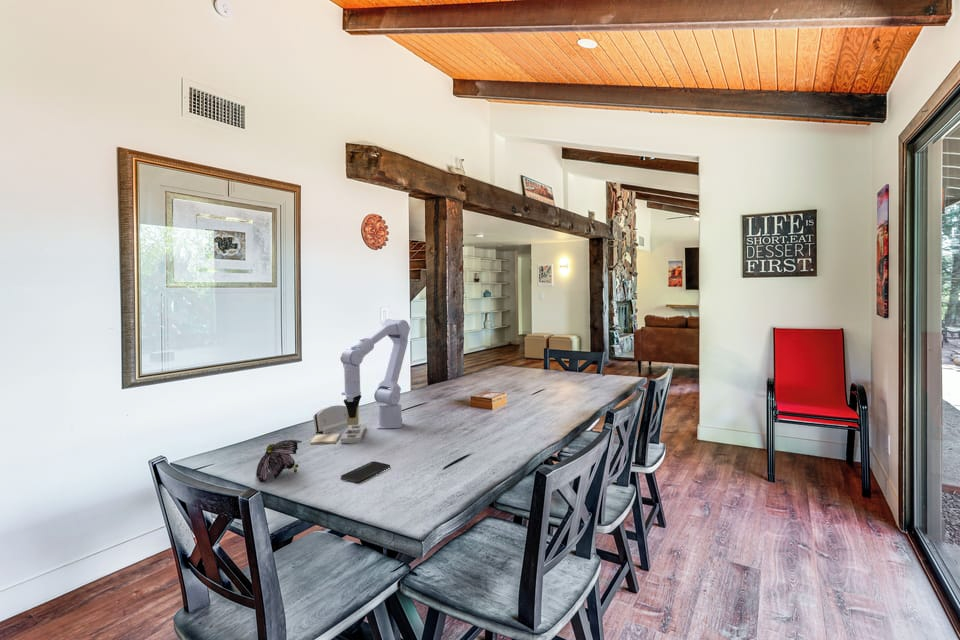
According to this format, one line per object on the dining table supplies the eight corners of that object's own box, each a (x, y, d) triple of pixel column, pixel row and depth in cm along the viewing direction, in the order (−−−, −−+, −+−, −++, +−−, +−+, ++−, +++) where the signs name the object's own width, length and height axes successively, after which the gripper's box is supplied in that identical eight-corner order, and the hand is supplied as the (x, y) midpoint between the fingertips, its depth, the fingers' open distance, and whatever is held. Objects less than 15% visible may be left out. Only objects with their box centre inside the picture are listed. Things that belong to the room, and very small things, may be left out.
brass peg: (359, 421, 192) (359, 405, 191) (358, 424, 188) (357, 407, 187) (348, 422, 191) (348, 405, 191) (347, 425, 187) (346, 408, 187)
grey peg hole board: (365, 429, 200) (365, 423, 200) (360, 443, 182) (360, 437, 182) (348, 429, 199) (348, 424, 199) (340, 443, 181) (340, 438, 181)
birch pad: (339, 435, 191) (339, 433, 191) (335, 443, 182) (335, 441, 182) (315, 436, 190) (315, 434, 190) (310, 444, 181) (310, 442, 181)
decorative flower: (258, 438, 157) (302, 424, 156) (273, 467, 161) (317, 454, 160) (239, 466, 143) (288, 451, 143) (257, 497, 147) (305, 483, 147)
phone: (339, 476, 148) (373, 460, 161) (339, 480, 148) (373, 464, 161) (358, 481, 144) (392, 465, 158) (358, 485, 145) (392, 468, 158)
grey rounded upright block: (323, 434, 193) (316, 409, 194) (315, 436, 195) (309, 412, 196) (355, 424, 207) (349, 401, 208) (348, 426, 209) (342, 403, 211)
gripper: (344, 377, 195) (345, 411, 196) (338, 385, 180) (339, 421, 181) (362, 377, 196) (363, 411, 197) (358, 384, 181) (358, 420, 182)
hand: (353, 416), depth 189 cm, fingers closed on brass peg, 4 cm apart
